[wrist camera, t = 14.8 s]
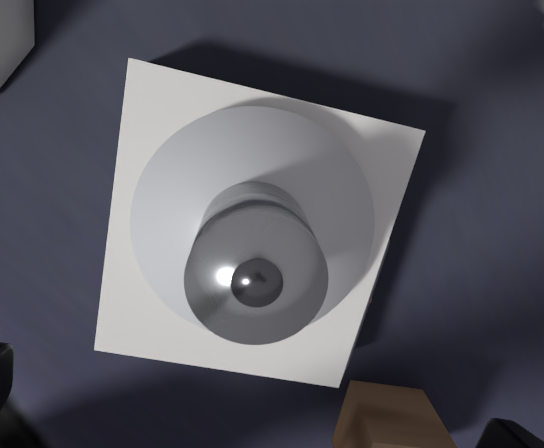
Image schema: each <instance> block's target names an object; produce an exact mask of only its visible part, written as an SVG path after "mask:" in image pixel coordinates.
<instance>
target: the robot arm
mask: <svg viewBox="0 0 544 448" xmlns="http://www.w3.org/2000/svg"><path fill="white" fill-rule="evenodd" d="M13 363H14V349H13V346H12V345H10V344H8V343H2V342H0V411H1V409H2V407H3V405H4V404H5V402H6V400H7V398H8V396H9V394H10V391H11V388H12V382H13ZM475 448H544V442H543V441H542V440H540V439H539V438H537V437H536V436H535V435H533V434H532V433H530V432H529V431H527V430H526V429H524V428H523V427H522V426H520V425H519V424H517V423H516V422H514V421H511V420H506V419H499V418H492V419H491V420H489V421H488V422H487V424H486V426H485V428H484V430H483V432H482V434H481V437H480V439H479V441H478V443H477V445H476V447H475Z"/></svg>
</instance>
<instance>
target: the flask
mask: <svg viewBox="0 0 544 448" xmlns="http://www.w3.org/2000/svg"><path fill="white" fill-rule="evenodd" d="M34 45H35V43H34V0H0V88H1V86H2V85H3V84H4V83H5V81H6V80H7V79H8V78H9V76H10V75H11V74H12V73H13V71H14V70H15V69H16V68H17V66H18V65H19V64H20V63H21V62H22V60H23V59H24V58H25V57H26V55H27V54H28V53H29V52H30V50H31V49H32V48H33V47H34Z"/></svg>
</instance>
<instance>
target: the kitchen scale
mask: <svg viewBox="0 0 544 448" xmlns="http://www.w3.org/2000/svg"><path fill="white" fill-rule="evenodd" d="M424 134H425V131H424V130H420V129H416V128H412V127H408V126H404V125H400V124H396V123H392V122H388V121H383V120H379V119H375V118H371V117H367V116H363V115H359V114H355V113H351V112H347V111H343V110H339V109H335V108H331V107H327V106H323V105H318V104H314V103H310V102H306V101H302V100H298V99H294V98H290V97H286V96H282V95H278V94H274V93H270V92H266V91H262V90H257V89H253V88H249V87H245V86H241V85H237V84H233V83H229V82H225V81H221V80H217V79H213V78H209V77H205V76H201V75H197V74H192V73H188V72H184V71H180V70H176V69H172V68H168V67H164V66H160V65H156V64H152V63H148V62H144V61H140V60H136V59H131V58H128V67H127V75H126V84H125V92H124V101H123V109H122V118H121V126H120V135H119V143H118V152H117V160H116V169H115V177H114V186H113V194H112V203H111V211H110V220H109V228H108V237H107V245H106V253H105V262H104V270H103V279H102V287H101V296H100V304H99V313H98V321H97V330H96V338H95V347H94V350H97V351H103V352H110V353H116V354H123V355H129V356H136V357H142V358H148V359H155V360H161V361H168V362H174V363H181V364H187V365H194V366H200V367H206V368H213V369H219V370H226V371H232V372H239V373H245V374H252V375H258V376H265V377H271V378H277V379H284V380H290V381H297V382H303V383H310V384H316V385H323V386H329V387H336V388H339V385H340V383H341V380H342V377H343V374H344V371H345V368H348V366H349V363H350V360H351V357H352V354H353V351H354V348H355V345H356V342H357V339H358V336H359V333H360V330H361V327H362V324H363V322H364V319H365V316H366V313H367V310H368V307H369V304H370V303H371V301H372V295H373V292H374V289H375V286H376V283H377V280H378V277H379V275H380V272H381V269H382V266H383V263H384V260H385V257H386V254H387V251H388V248H389V245H390V242H391V241H390V240H389V238H390V235H391V232H392V229H393V226H394V223H395V220H396V217H397V214H398V211H399V208H400V205H401V202H402V199H403V196H404V193H405V190H406V187H407V185H408V182H409V179H410V176H411V173H412V170H413V167H414V164H415V161H416V158H417V155H418V152H419V149H420V146H421V143H422V140H423V137H424ZM250 181H259V182H266V183H270V184H273V185H275V186H278V187H280V188H282V189H283V190H285V191H286V192H288V193H289V194H290V195H291V196H292V197H293V198H294V199H295V200H296V201H297V202H298V204H299V205H300V207H301V208H302V210H303V212H304V214H305V216H306V218H307V221H308V223H309V225H310V227H311V229H312V231H313V233H314V235H315V237H316V239H317V241H318V244H319V246H320V248H321V250H322V252H323V254H324V257H325V260H326V263H327V267H328V276H329V281H328V289H327V294H326V297H325V300H324V303H323V305H322V307H321V308H320V310H319V312H318V313H317V315H316V316H315V317H314V319H313V320H312V321H311V322H310V323H309V324H308V325H307V326H306V327H304V328H303V329H302V330H301V331H299V332H298V333H296V334H295V335H293V336H291V337H289V338H287V339H284V340H281V341H279V342H275V343H271V344H264V345H246V344H239V343H235V342H231V341H229V340H226V339H223V338H221V337H219V336H217V335H216V334H214V333H213V332H211V331H210V330H208V329H207V328H206V327H205V326H204V325H203V324H202V323H201V322H200V321H199V320H198V319H197V318H196V316H195V315H194V313H193V312H192V310H191V308H190V306H189V304H188V301H187V298H186V295H185V290H184V271H185V267H186V263H187V259H188V257H189V254H190V251H191V248H192V246H193V243H194V240H195V237H196V234H197V232H198V229H199V226H200V223H201V220H202V218H203V215H204V213H205V210H206V209H207V207H208V205H209V204H210V203H211V201H212V200H213V199H214V198H215V197H216V196H217V195H218V194H219V193H221V192H222V191H223V190H225V189H227V188H229V187H230V186H233V185H236V184H239V183H243V182H250Z"/></svg>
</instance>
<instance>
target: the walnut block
mask: <svg viewBox="0 0 544 448" xmlns="http://www.w3.org/2000/svg"><path fill="white" fill-rule="evenodd" d="M332 444H333V448H457V446H456V445H455V443H454V441H453V440H452V438H451V436H450V435H449V433H448V431H447V430H446V428H445V426H444V425H443V423H442V421H441V420H440V418H439V416H438V414H437V413H436V411H435V409H434V408H433V406H432V404H431V403H430V401H429V399H428V398H427V396H426V394H425V393H424V391H423V389H415V388H408V387H400V386H392V385H385V384H377V383H369V382H362V381H354V380H350V382H349V386H348V389H347V392H346V395H345V398H344V402H343V405H342V408H341V411H340V415H339V418H338V421H337V424H336V428H335V431H334V434H333V437H332Z"/></svg>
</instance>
